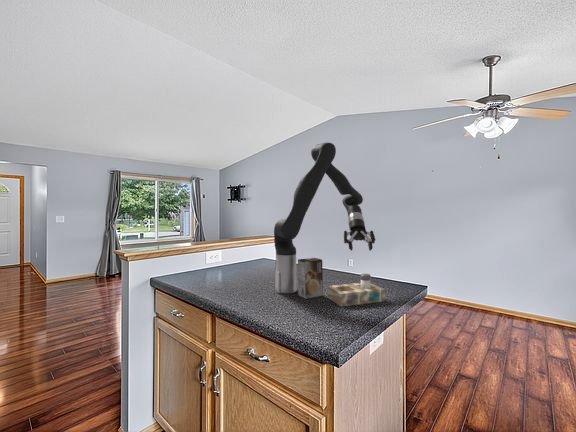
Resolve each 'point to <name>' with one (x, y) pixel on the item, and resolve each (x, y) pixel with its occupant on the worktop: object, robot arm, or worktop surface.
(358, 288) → the socket block
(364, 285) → the plug
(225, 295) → the worktop surface
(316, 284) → the coffee box
